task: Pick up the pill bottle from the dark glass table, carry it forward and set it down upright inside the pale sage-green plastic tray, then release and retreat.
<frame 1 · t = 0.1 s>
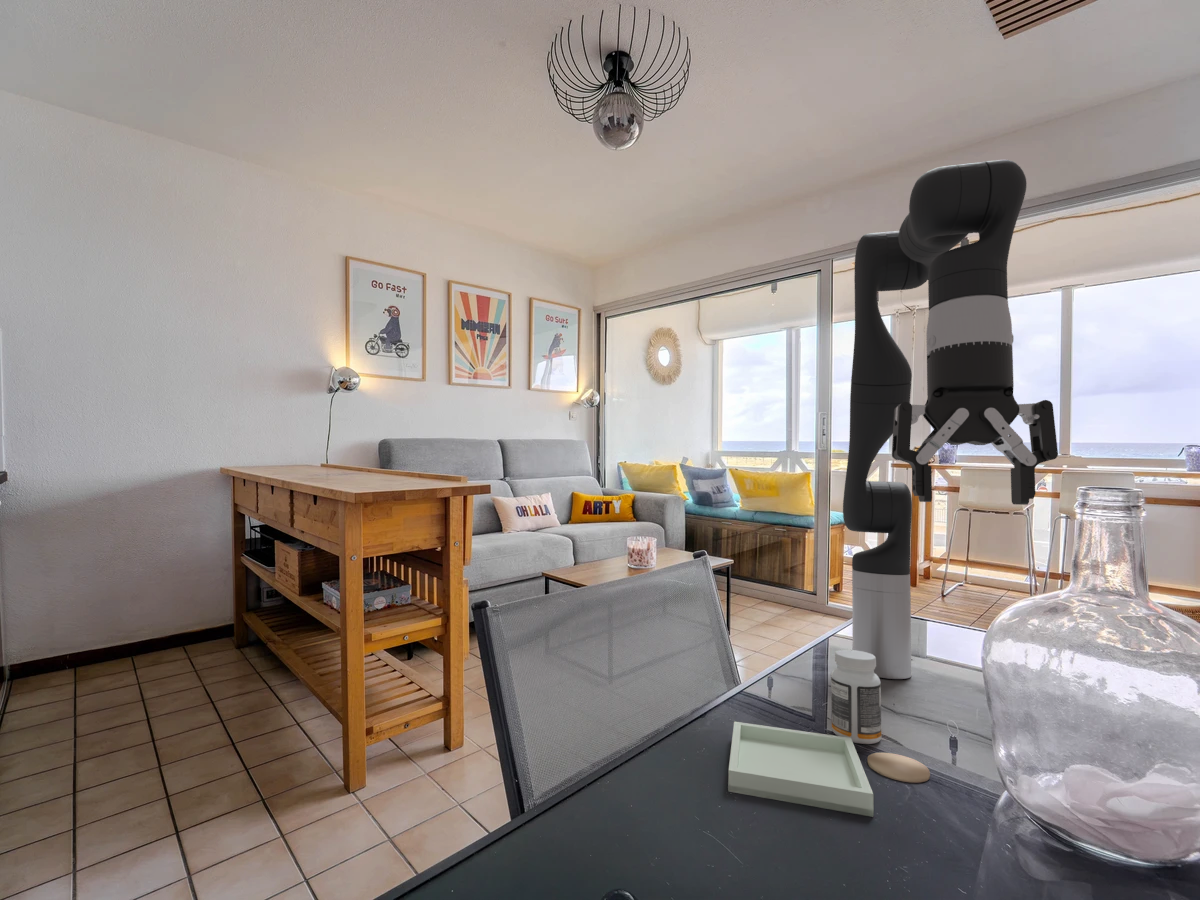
hand: (971, 503, 57), 29 cm above the table, fingers open, 8 cm apart
pill bottle: (855, 737, 69), on the table
coaster: (898, 768, 61), on the table
tray: (794, 772, 59), on the table
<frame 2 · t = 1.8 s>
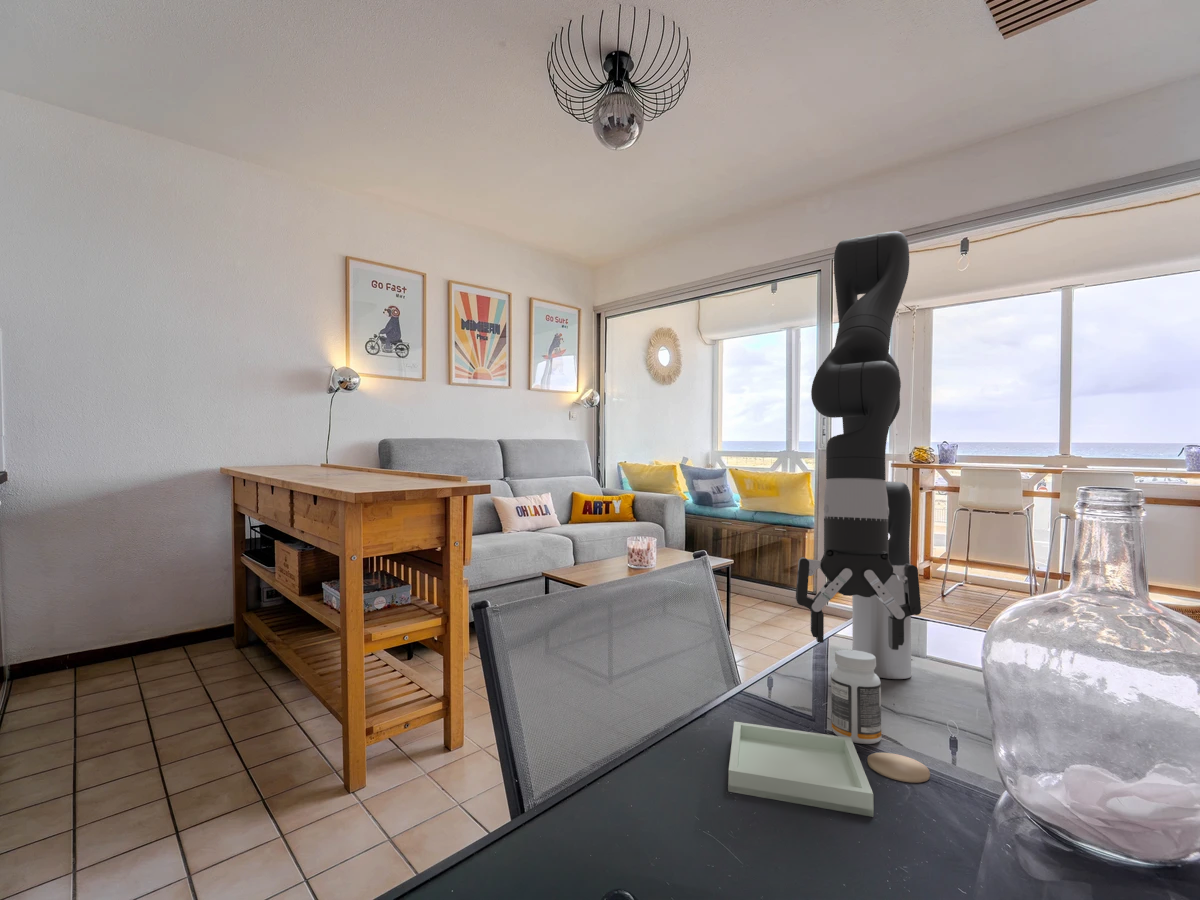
hand: (855, 644, 70), 11 cm above the table, fingers open, 8 cm apart
nothing on the table moved.
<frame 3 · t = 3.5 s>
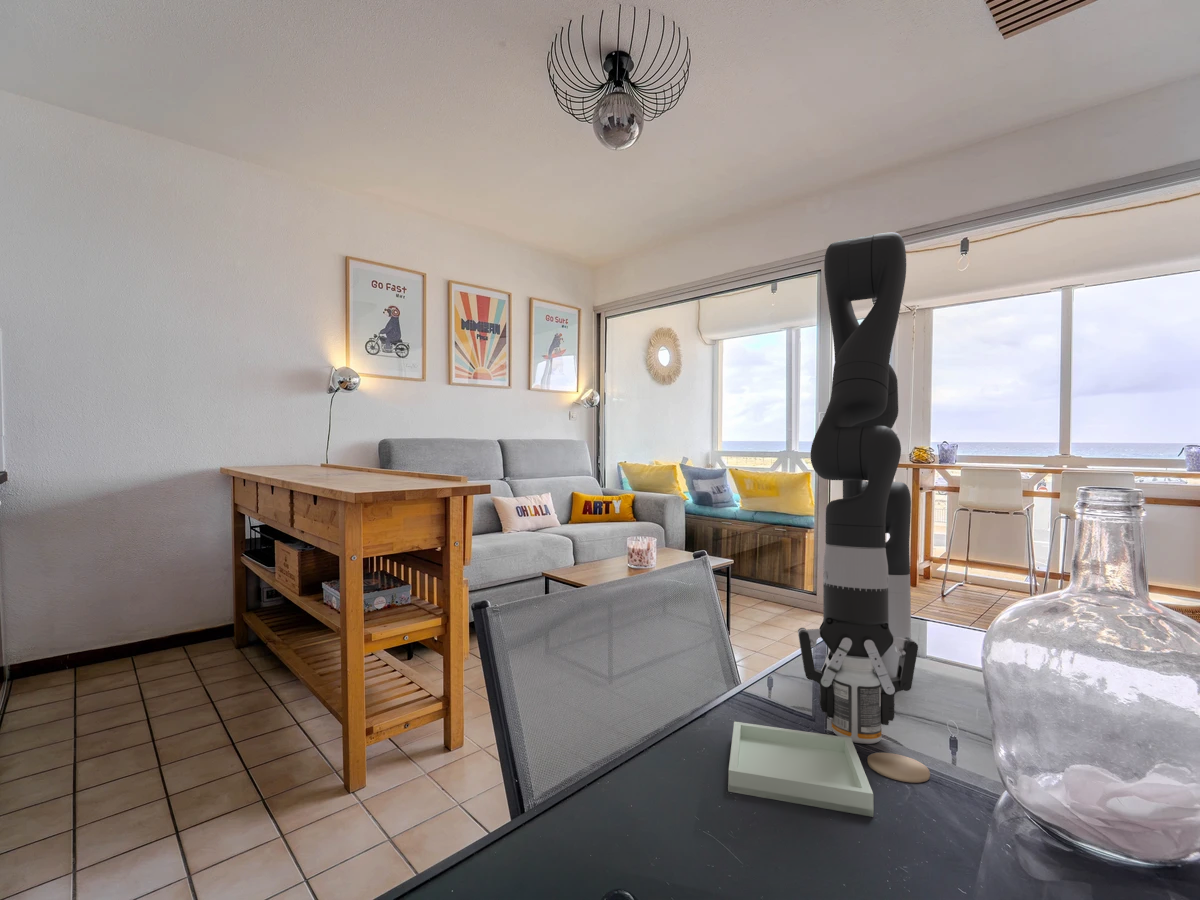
hand: (855, 718, 70), 2 cm above the table, fingers closed on pill bottle, 5 cm apart
pill bottle: (855, 737, 69), on the table, touching gripper
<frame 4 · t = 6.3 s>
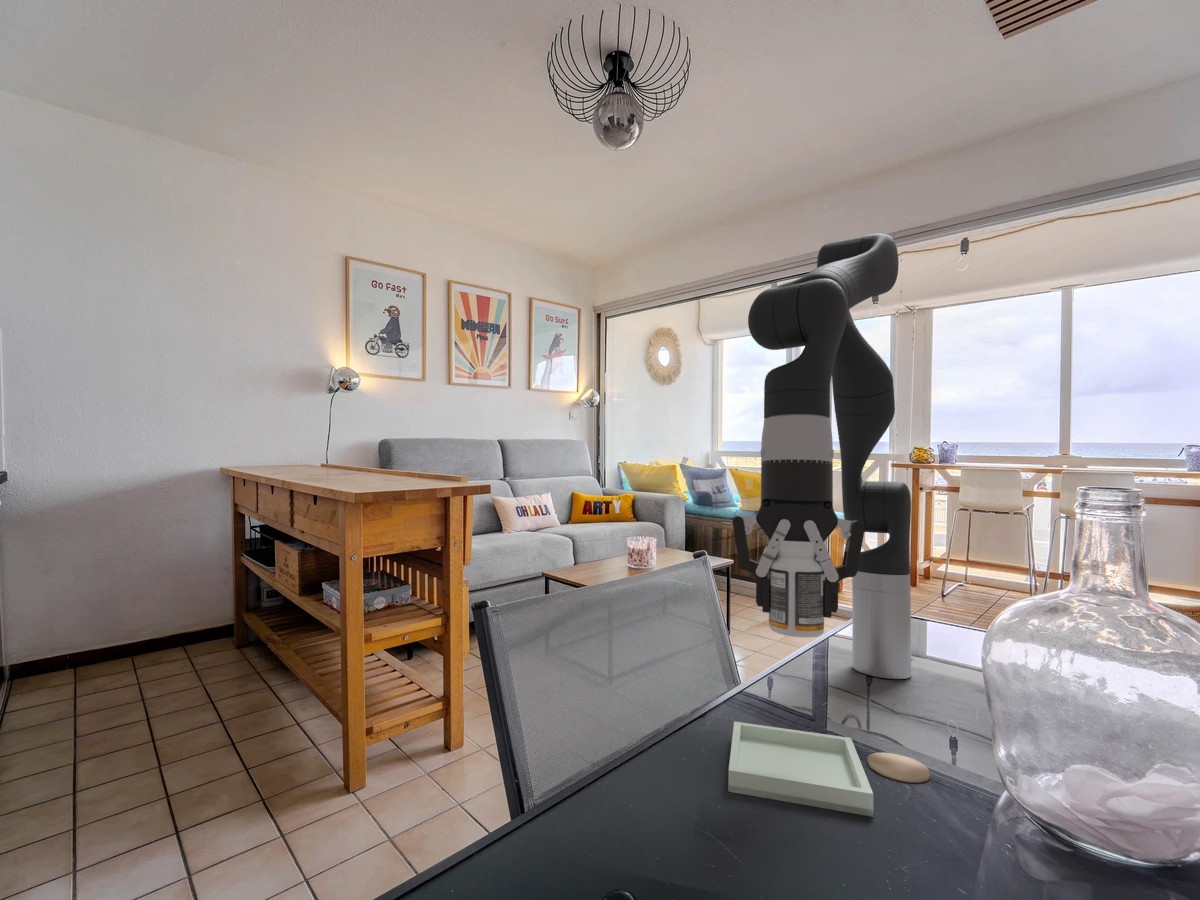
hand: (795, 613, 61), 17 cm above the table, fingers closed on pill bottle, 5 cm apart
pill bottle: (795, 634, 60), point 14 cm above the table, touching gripper
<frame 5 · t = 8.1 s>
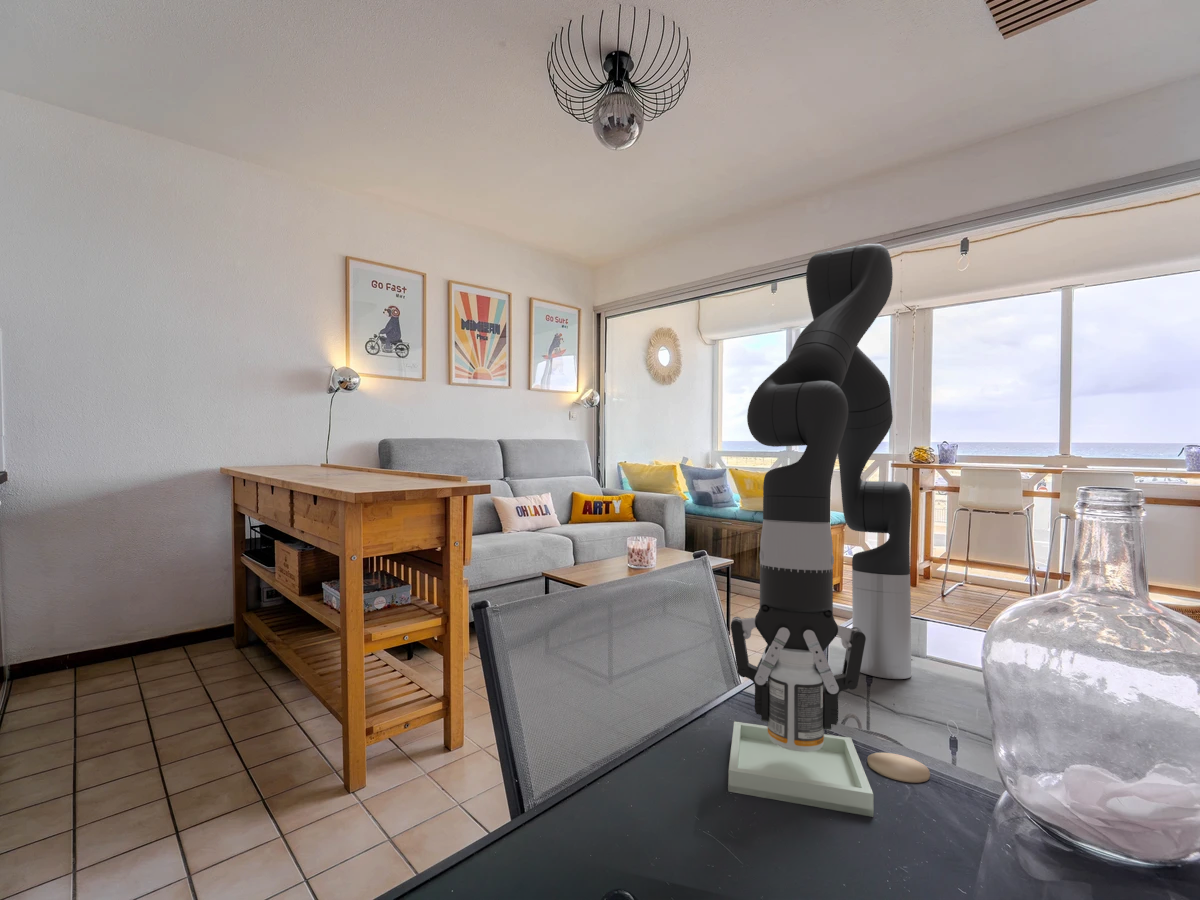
hand: (794, 722, 60), 5 cm above the table, fingers closed on pill bottle, 5 cm apart
pill bottle: (794, 744, 59), point 3 cm above the table, touching gripper
when the fingers open (4 cm above the table, at t = 9.4 s): pill bottle stays where it is, resting on tray.
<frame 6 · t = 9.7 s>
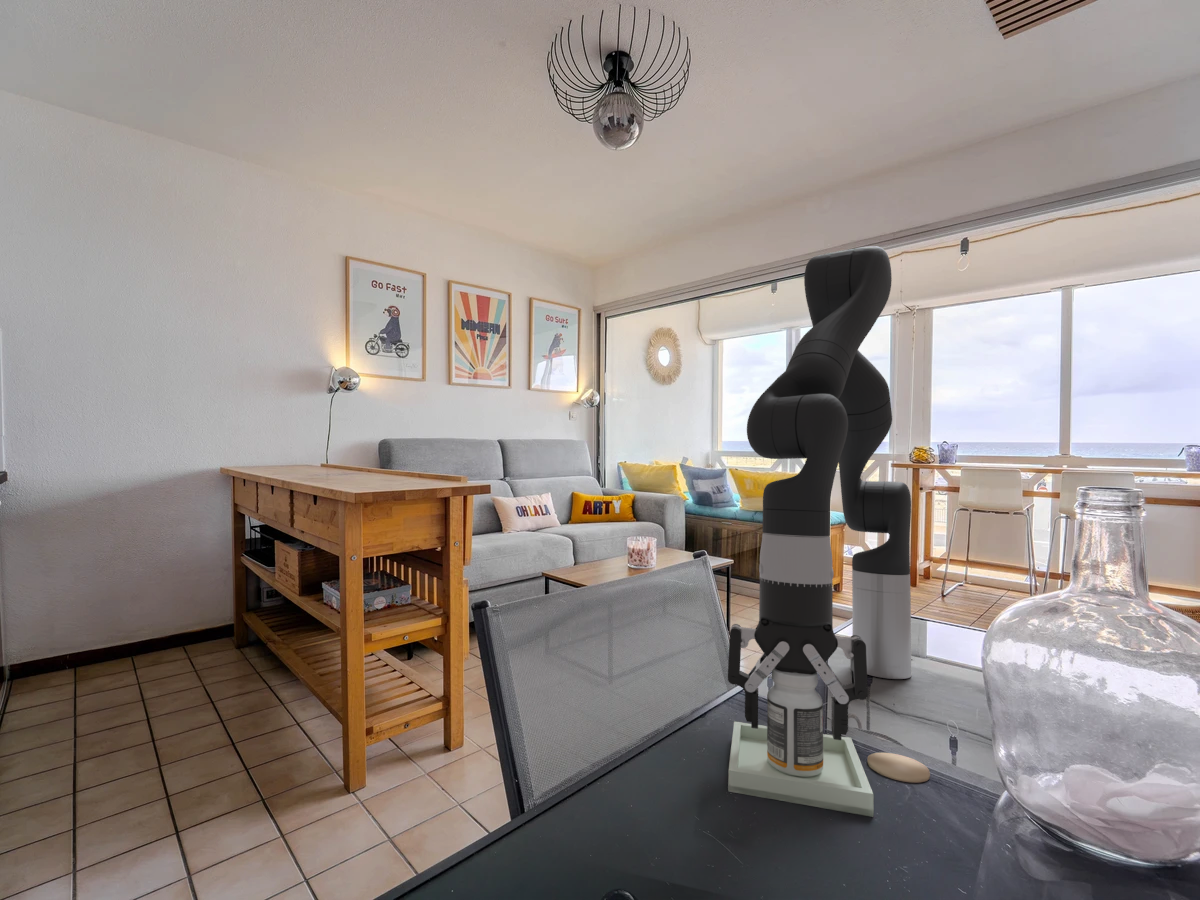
hand: (794, 731, 59), 4 cm above the table, fingers open, 8 cm apart
pill bottle: (794, 768, 59), resting on tray
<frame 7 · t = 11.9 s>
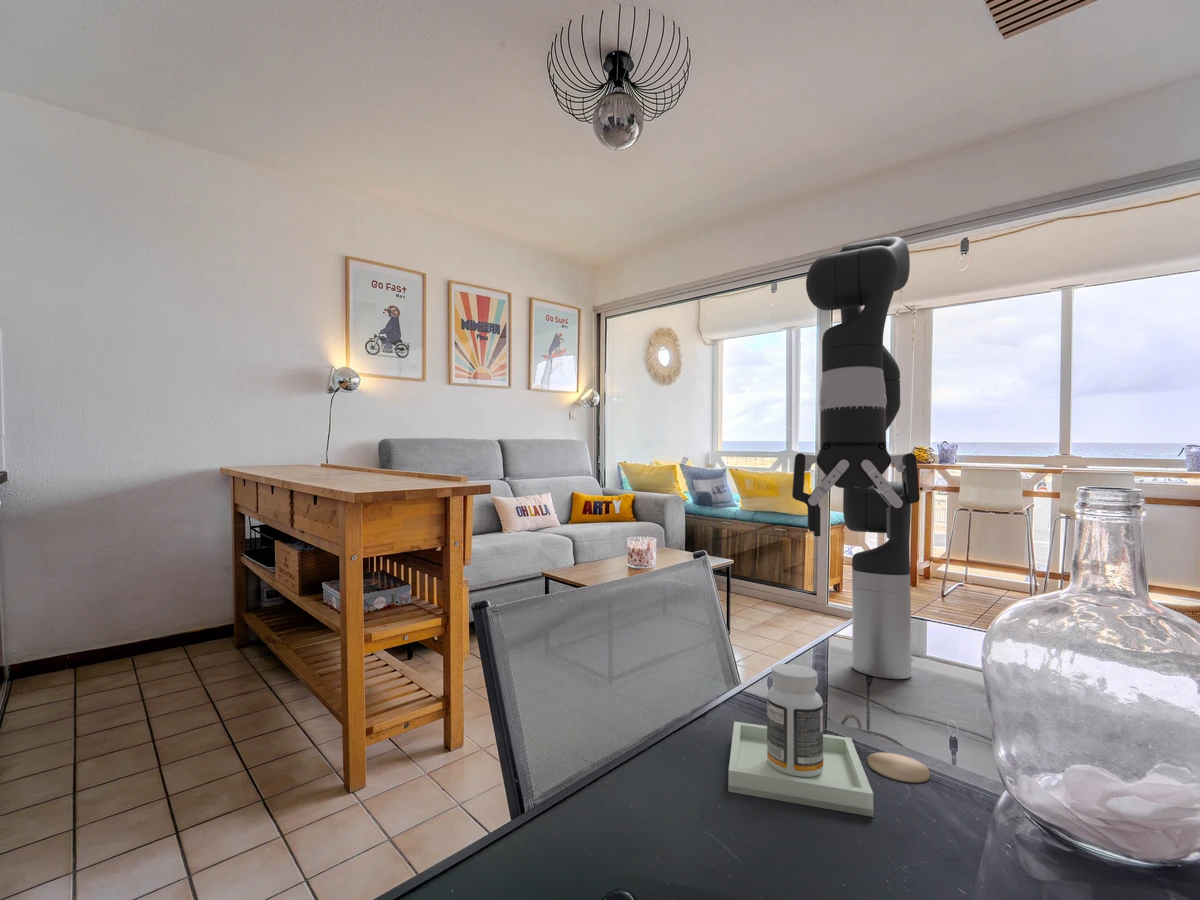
hand: (853, 537, 69), 25 cm above the table, fingers open, 8 cm apart
nothing on the table moved.
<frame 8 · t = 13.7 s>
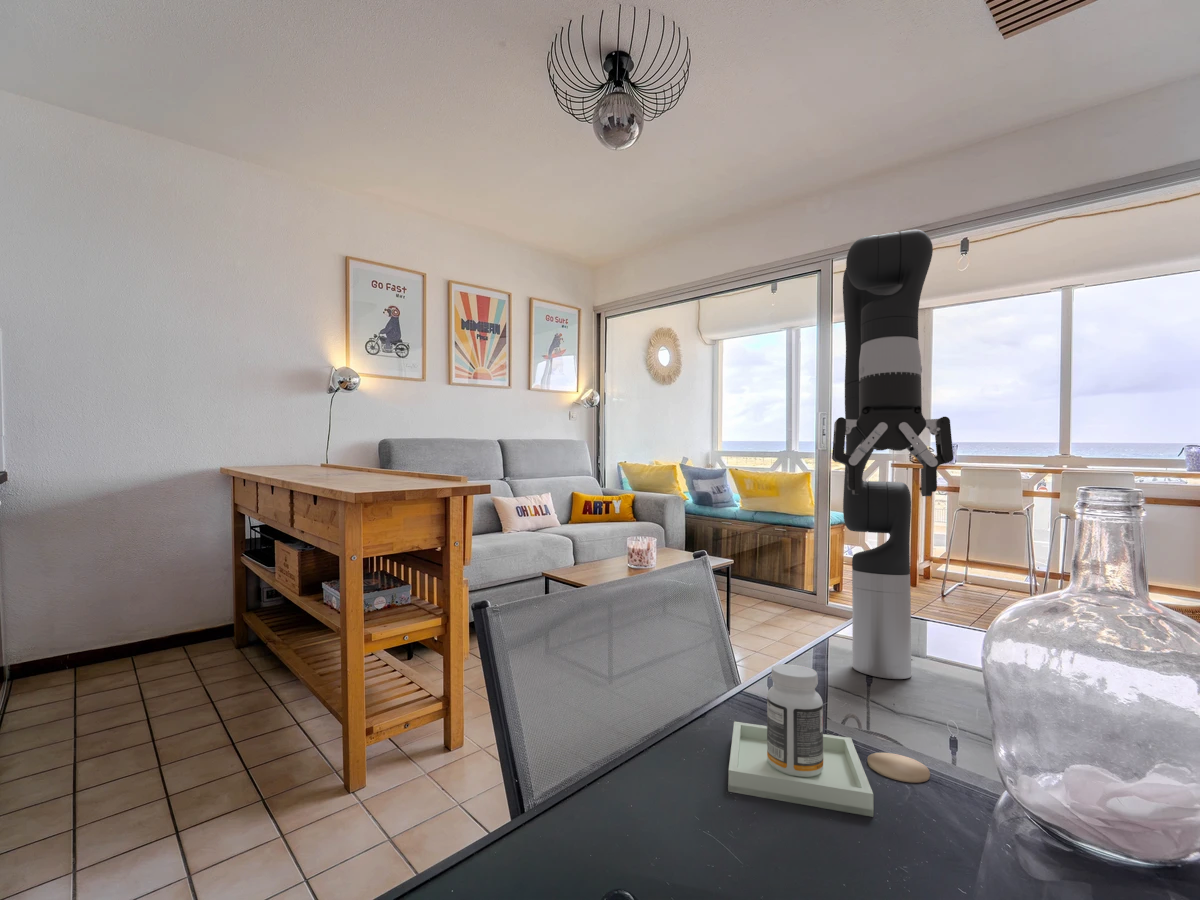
hand: (890, 495, 75), 30 cm above the table, fingers open, 8 cm apart
nothing on the table moved.
at the end: pill bottle inside the target area on the tray (0.1 cm from its centre), point 0.4 cm above the tray's base; pill bottle tilted 0°; the gripper is holding nothing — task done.
